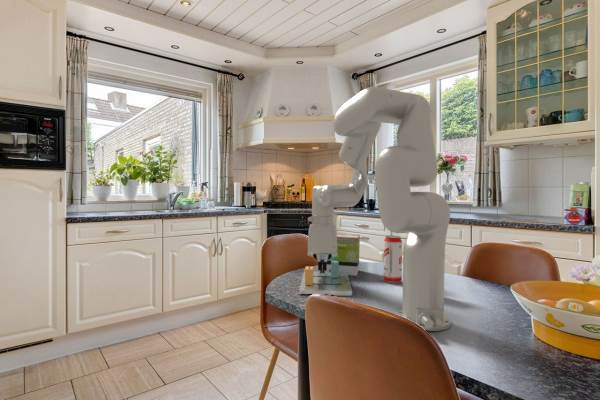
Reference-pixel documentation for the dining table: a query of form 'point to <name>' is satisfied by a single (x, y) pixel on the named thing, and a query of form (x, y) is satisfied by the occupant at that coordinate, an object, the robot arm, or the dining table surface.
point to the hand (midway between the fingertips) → (322, 272)
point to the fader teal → (334, 269)
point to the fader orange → (309, 275)
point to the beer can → (392, 259)
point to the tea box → (346, 254)
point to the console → (327, 284)
